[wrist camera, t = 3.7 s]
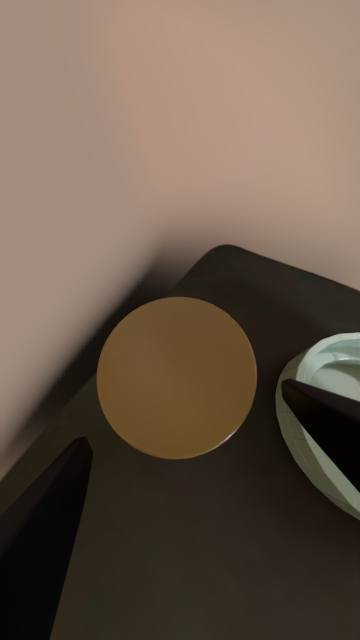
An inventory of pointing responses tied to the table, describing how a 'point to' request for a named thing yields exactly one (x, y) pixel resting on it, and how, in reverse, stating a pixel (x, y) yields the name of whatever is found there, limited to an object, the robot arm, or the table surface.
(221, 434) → the tea tin
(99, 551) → the table surface
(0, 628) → the robot arm
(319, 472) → the bowl
